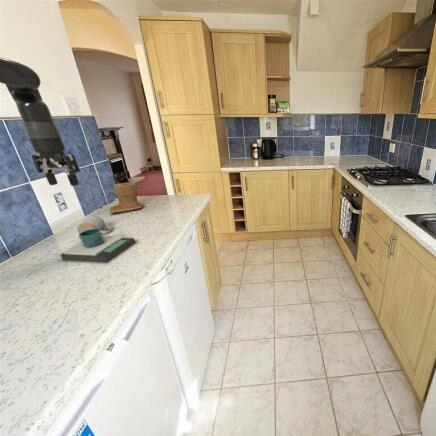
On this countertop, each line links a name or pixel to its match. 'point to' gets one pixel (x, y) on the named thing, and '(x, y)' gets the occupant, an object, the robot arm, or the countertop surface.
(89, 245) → the bowl
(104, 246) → the scale
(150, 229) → the countertop surface
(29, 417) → the countertop surface
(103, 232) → the ceramic mug
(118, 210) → the brown upright piece
